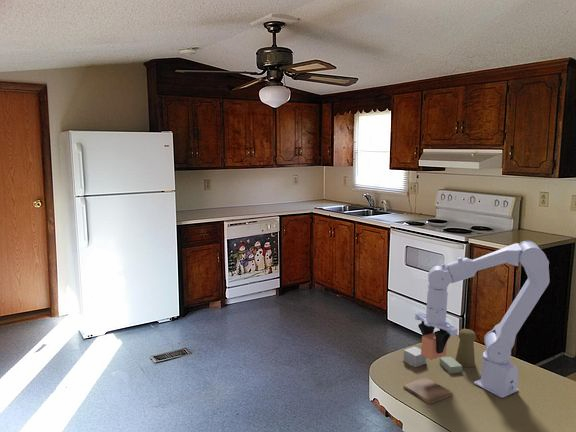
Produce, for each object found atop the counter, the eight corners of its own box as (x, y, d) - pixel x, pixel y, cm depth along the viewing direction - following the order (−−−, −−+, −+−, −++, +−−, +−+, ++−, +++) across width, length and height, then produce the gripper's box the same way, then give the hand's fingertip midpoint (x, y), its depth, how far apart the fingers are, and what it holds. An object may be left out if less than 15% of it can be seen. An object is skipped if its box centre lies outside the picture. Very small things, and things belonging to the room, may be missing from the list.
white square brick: (426, 363, 153) (426, 352, 152) (415, 367, 150) (415, 356, 150) (414, 357, 157) (414, 346, 156) (403, 361, 154) (404, 349, 154)
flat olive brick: (461, 373, 148) (462, 365, 147) (450, 374, 147) (450, 367, 146) (450, 363, 154) (451, 356, 153) (439, 364, 153) (439, 357, 152)
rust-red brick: (446, 354, 143) (447, 336, 142) (431, 359, 140) (432, 340, 139) (435, 349, 147) (436, 331, 145) (420, 354, 143) (422, 335, 142)
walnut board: (452, 395, 134) (452, 392, 134) (429, 404, 130) (430, 401, 130) (425, 379, 143) (425, 377, 143) (403, 387, 138) (403, 385, 138)
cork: (471, 368, 150) (474, 336, 148) (452, 363, 153) (454, 331, 151) (477, 361, 154) (479, 329, 152) (458, 356, 158) (460, 325, 156)
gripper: (409, 301, 145) (406, 343, 147) (446, 317, 132) (443, 362, 135) (425, 297, 148) (423, 338, 151) (463, 312, 136) (460, 356, 138)
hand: (433, 349), depth 143 cm, fingers closed on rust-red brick, 4 cm apart
